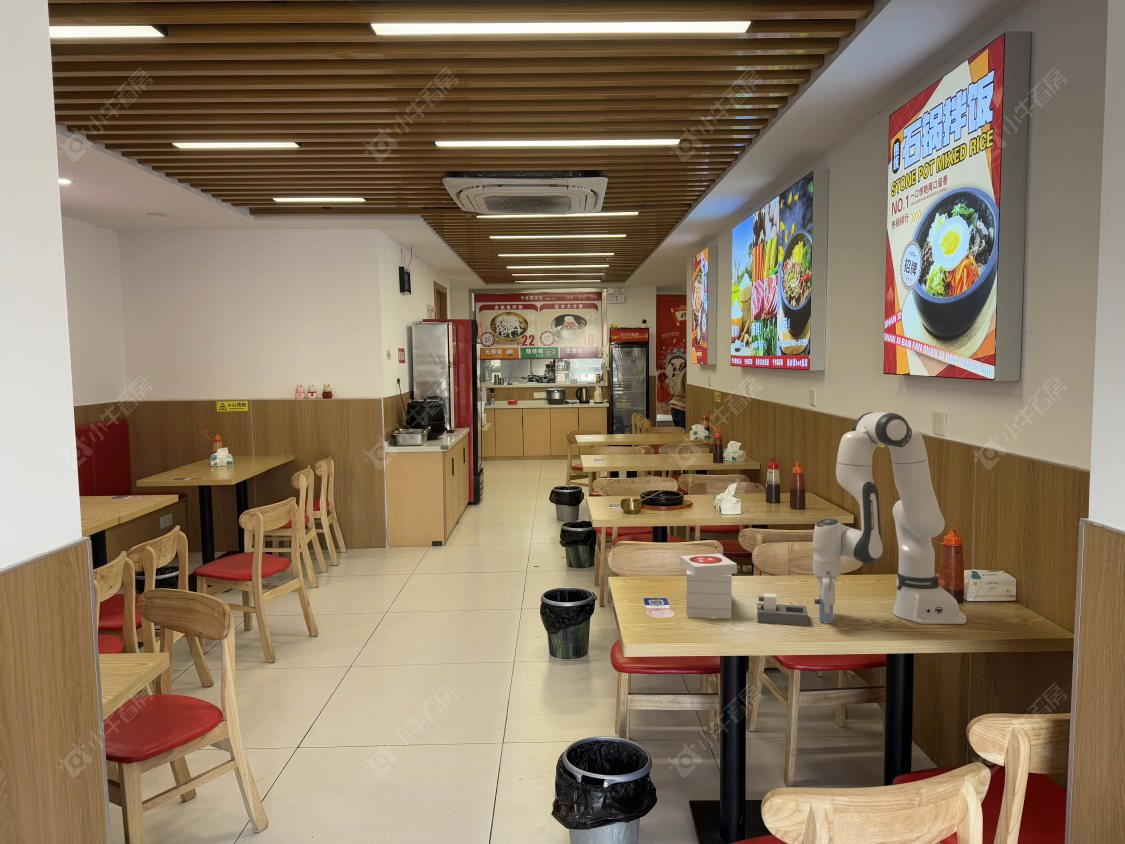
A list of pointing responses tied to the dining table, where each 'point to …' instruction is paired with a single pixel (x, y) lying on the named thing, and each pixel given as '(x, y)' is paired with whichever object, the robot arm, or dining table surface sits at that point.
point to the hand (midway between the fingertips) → (825, 609)
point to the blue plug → (822, 615)
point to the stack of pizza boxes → (708, 585)
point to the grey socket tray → (783, 615)
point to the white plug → (768, 602)
